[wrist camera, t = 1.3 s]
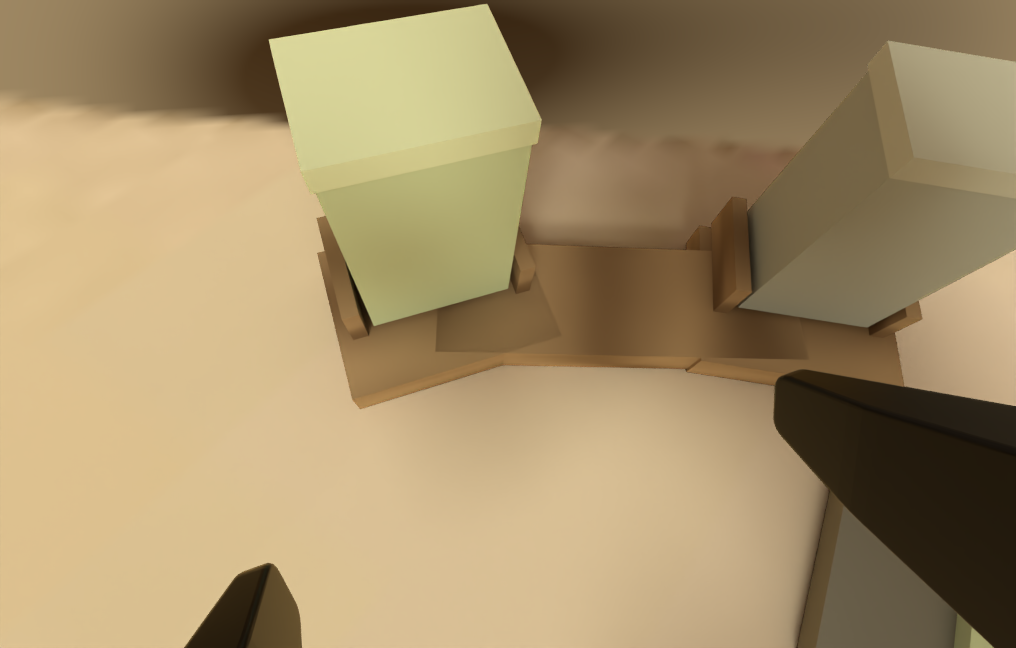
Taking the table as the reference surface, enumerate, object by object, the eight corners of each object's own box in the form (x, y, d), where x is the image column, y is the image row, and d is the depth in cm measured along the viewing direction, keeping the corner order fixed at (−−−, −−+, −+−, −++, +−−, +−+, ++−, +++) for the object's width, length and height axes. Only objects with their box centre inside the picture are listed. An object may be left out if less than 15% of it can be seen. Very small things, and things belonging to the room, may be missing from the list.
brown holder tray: (844, 230, 25) (899, 185, 22) (901, 402, 22) (976, 379, 19) (332, 221, 23) (310, 171, 20) (309, 409, 20) (279, 385, 17)
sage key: (511, 290, 21) (541, 120, 12) (371, 329, 20) (300, 171, 11) (479, 207, 22) (487, 3, 14) (348, 239, 21) (268, 39, 13)
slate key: (869, 330, 21) (1134, 193, 13) (735, 309, 21) (913, 157, 13) (856, 244, 23) (1084, 73, 14) (731, 224, 23) (887, 40, 14)
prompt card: (1084, 592, 20) (1135, 597, 18) (1083, 806, 17) (1141, 831, 16) (833, 473, 21) (861, 468, 19) (794, 657, 18) (824, 667, 17)
